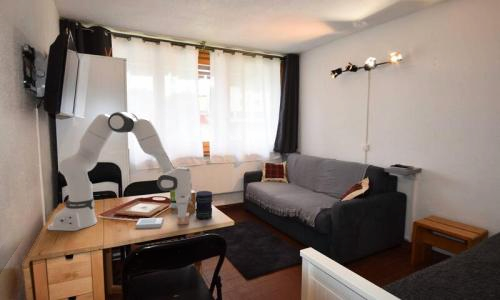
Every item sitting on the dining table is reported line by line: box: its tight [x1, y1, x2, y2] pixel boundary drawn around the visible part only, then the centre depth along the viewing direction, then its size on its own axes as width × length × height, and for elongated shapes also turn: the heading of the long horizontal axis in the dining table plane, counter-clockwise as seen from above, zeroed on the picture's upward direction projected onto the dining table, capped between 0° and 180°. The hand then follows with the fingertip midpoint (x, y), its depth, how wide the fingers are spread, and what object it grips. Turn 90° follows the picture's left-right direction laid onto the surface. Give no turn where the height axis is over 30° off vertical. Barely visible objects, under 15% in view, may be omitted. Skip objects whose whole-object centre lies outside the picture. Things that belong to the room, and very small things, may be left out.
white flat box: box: [135, 217, 164, 229], centre depth 150 cm, size 13×9×2 cm
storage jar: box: [195, 190, 213, 221], centre depth 162 cm, size 10×10×15 cm
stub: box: [177, 213, 190, 225], centre depth 153 cm, size 6×5×5 cm
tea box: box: [169, 181, 193, 209], centre depth 184 cm, size 15×10×15 cm, turn 172°
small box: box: [187, 189, 196, 214], centre depth 171 cm, size 8×6×13 cm
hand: (183, 219), depth 153 cm, fingers closed on stub, 5 cm apart
